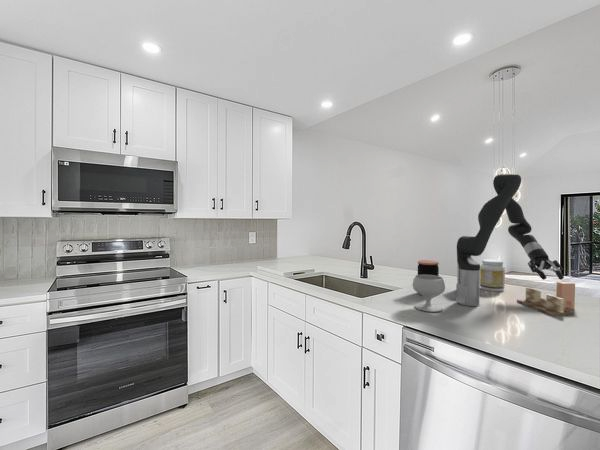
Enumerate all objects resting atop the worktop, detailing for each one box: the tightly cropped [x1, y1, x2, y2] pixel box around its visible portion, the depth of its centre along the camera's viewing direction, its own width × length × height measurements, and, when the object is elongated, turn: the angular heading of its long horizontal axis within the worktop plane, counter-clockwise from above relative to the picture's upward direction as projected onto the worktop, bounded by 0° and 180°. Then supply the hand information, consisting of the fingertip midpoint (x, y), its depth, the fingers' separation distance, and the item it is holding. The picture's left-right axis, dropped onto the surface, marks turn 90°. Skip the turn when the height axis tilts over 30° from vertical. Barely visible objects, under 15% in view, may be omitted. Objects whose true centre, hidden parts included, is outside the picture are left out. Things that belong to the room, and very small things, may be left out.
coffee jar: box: [417, 259, 440, 296], centre depth 166 cm, size 11×11×18 cm
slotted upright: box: [555, 281, 576, 310], centre depth 141 cm, size 3×6×12 cm, turn 91°
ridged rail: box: [516, 287, 574, 316], centre depth 141 cm, size 20×10×7 cm, turn 1°
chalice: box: [412, 274, 446, 313], centre depth 141 cm, size 14×14×15 cm
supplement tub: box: [480, 258, 506, 293], centre depth 176 cm, size 12×12×17 cm
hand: (553, 278), depth 148 cm, fingers open, 8 cm apart
